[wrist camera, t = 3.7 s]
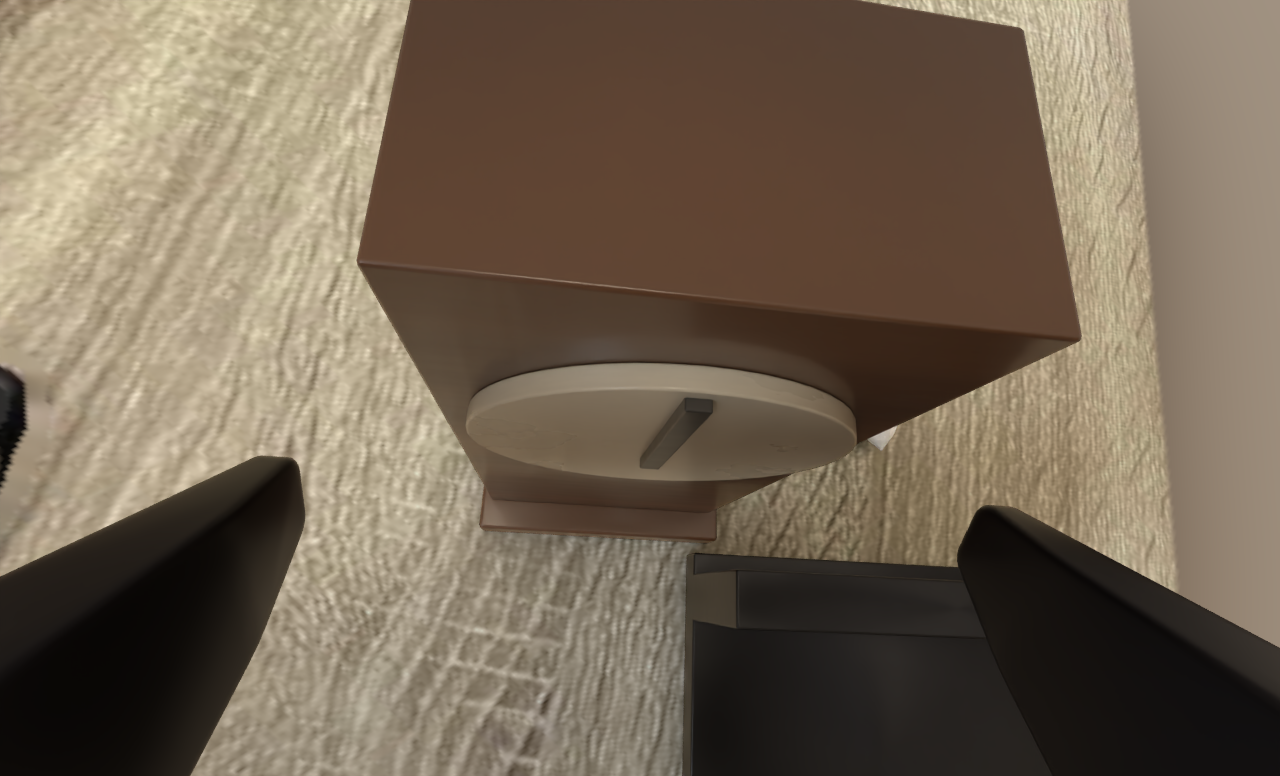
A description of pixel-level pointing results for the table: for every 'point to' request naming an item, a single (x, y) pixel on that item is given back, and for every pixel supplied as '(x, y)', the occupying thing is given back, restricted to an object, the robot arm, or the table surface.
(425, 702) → the table surface
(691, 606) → the clock rack
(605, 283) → the clock
